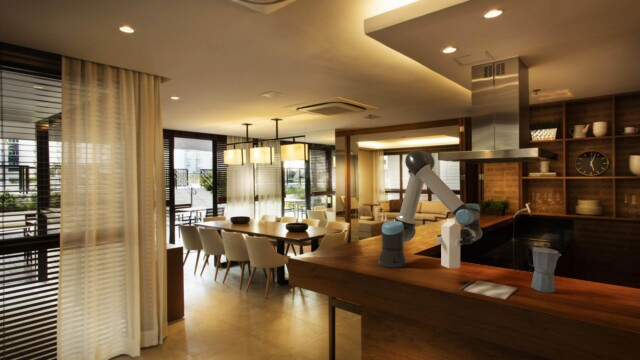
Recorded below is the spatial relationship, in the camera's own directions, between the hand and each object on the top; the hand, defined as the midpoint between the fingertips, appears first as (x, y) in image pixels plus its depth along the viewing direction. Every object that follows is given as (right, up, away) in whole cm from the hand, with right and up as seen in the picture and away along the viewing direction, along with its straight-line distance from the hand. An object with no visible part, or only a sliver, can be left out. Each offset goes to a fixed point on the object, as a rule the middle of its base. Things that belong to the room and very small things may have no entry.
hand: (446, 241), depth 158 cm
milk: (+3, -12, +3) cm, 13 cm away
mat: (+15, -19, -7) cm, 25 cm away
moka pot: (+39, -20, -7) cm, 44 cm away
